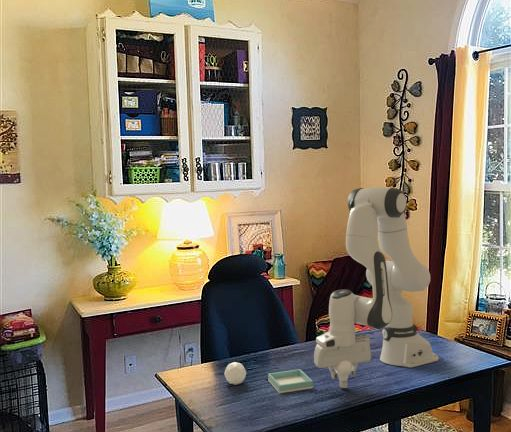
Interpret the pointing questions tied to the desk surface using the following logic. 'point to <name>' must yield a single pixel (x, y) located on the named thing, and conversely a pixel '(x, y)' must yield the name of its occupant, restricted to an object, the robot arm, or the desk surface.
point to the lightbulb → (343, 372)
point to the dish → (290, 381)
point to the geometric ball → (235, 373)
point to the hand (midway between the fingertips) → (343, 376)
